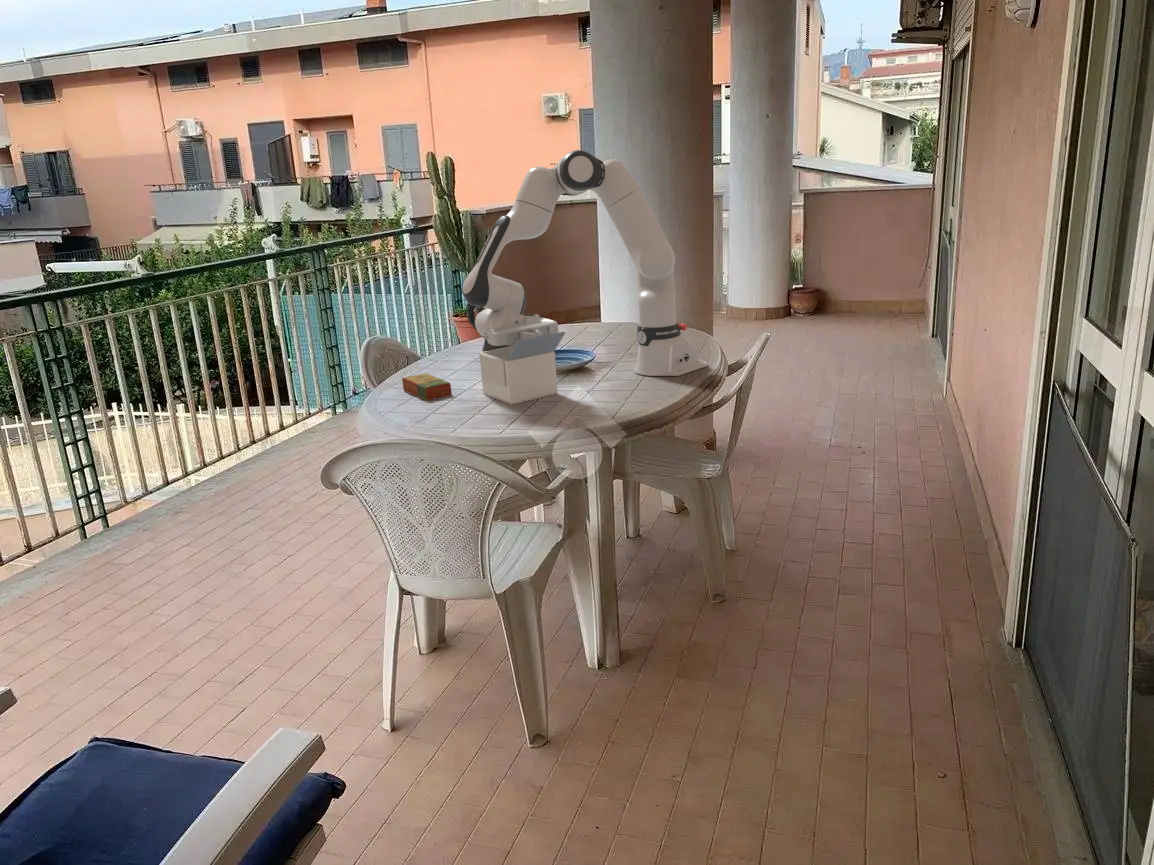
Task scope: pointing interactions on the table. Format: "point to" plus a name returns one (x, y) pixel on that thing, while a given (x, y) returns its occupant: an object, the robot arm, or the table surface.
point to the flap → (536, 345)
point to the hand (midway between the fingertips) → (537, 336)
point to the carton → (426, 386)
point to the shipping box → (518, 375)
